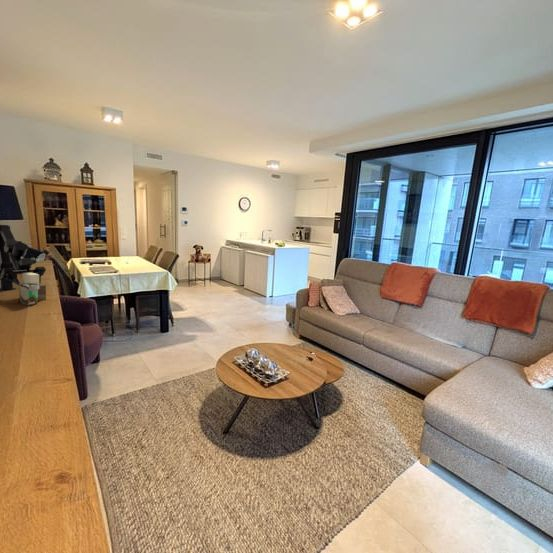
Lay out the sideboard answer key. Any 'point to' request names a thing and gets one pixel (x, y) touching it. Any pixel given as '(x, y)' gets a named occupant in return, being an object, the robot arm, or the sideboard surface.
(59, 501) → the sideboard surface
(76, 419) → the sideboard surface
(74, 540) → the sideboard surface
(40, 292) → the dispenser
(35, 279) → the white upright block
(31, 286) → the food container
